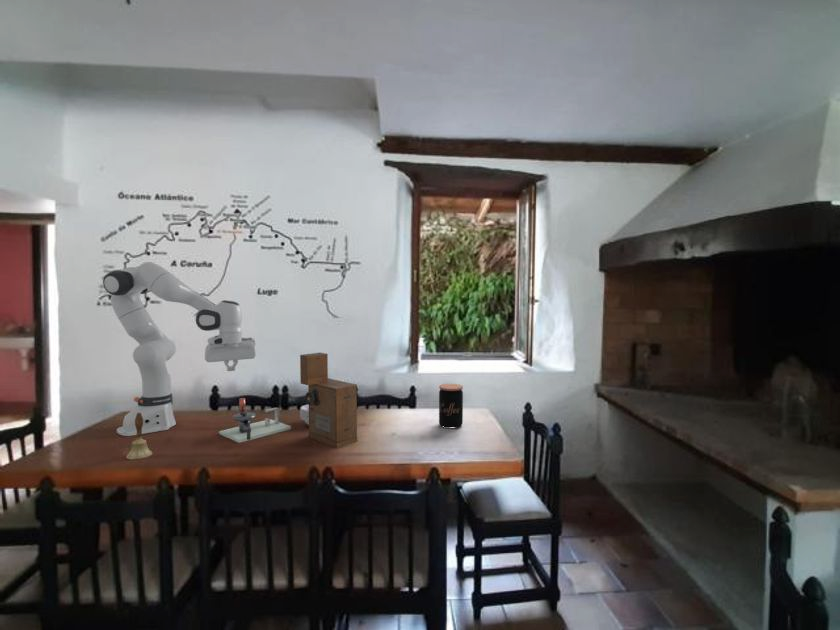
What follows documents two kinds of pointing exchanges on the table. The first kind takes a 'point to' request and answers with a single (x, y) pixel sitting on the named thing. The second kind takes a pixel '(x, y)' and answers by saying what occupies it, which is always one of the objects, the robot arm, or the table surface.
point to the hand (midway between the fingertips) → (231, 370)
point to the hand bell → (139, 442)
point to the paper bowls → (305, 413)
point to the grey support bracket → (277, 416)
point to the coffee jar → (450, 405)
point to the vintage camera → (328, 402)
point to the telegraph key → (244, 419)
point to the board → (254, 430)
